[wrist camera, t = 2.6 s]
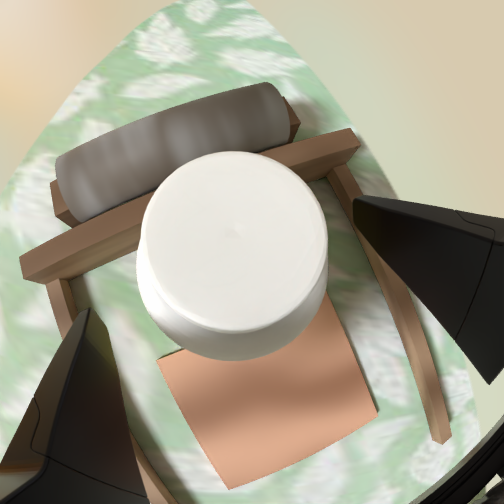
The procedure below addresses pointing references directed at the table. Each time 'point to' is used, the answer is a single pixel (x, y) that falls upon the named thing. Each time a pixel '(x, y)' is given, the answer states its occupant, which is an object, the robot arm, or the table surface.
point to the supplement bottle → (233, 256)
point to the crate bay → (216, 371)
